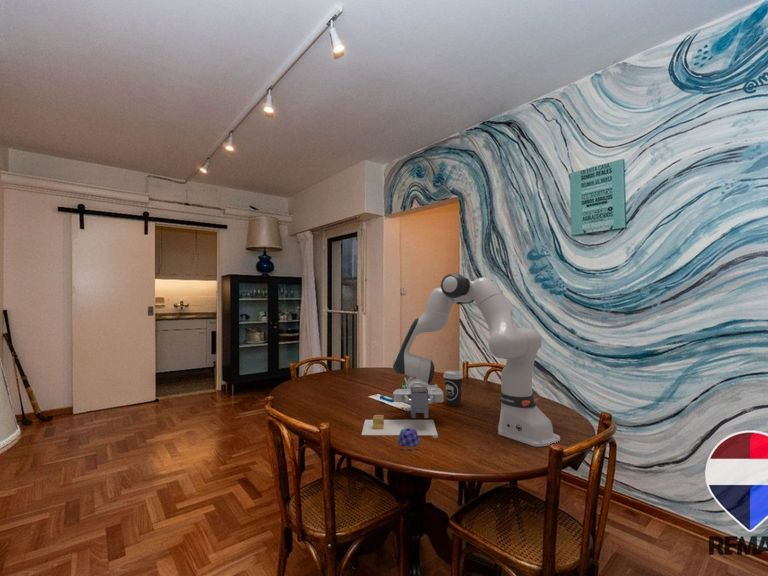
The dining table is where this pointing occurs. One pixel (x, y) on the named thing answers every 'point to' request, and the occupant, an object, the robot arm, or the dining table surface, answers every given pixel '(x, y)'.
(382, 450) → the dining table surface
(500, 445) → the dining table surface
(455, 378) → the coffee cup
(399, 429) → the placemat
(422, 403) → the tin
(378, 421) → the block
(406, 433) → the pudding
